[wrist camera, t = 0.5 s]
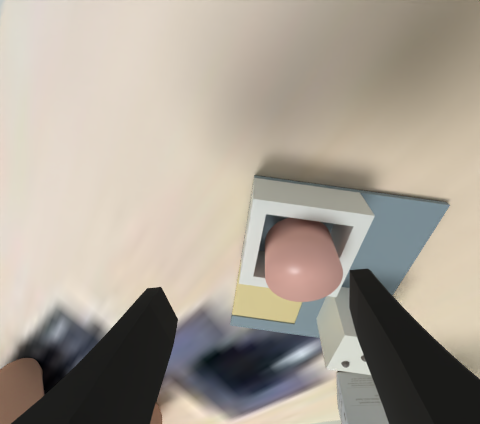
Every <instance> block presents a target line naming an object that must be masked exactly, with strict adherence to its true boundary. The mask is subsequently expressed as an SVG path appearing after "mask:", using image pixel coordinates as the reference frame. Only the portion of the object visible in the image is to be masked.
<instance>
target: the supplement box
mask: <svg viewBox="0 0 480 424" xmlns="http://www.w3.org/2000/svg"><path fill="white" fill-rule="evenodd" d="M337 400H338V410H339V415H340V419H341V424H389V422H388V420H387V417H386V414H385V411H384V408H383V405H382V402H381V400H380V397H379V394H378V392H377V389H376V386H375V384H374V381H373V378H372V376H371V375H366V374H359V373H352V372H337Z"/></svg>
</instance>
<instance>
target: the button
mask: <svg viewBox="0 0 480 424" xmlns="http://www.w3.org/2000/svg"><path fill="white" fill-rule="evenodd" d="M342 278H343V269H342V265H341V262H340V260H339V257H338V254H337V251H336V248H335V245H334V243H333V240H332V237H331V234H330V232H329V230H328V228H327V227H326V226H325V225H324V224H323V223H321V222H319V221H311V220H304V219H297V218H286V219H283V220H281V221H279V222H278V223H276V224H275V225H274V226H273V227H272V228H271V229H270V230H269V231H268V233H267V235H266V238H265V280H266V283H267V285H268V287H269V289H270V290H271V291H272V292H273V293H274V294H276V295H277V296H279V297H281V298H283V299H286V300H289V301H294V302H310V301H315V300H319V299H321V298H324V297H326V296H328V295H329V294H331V293H332V292H333V291H335V290H336V289H337V287H338V286H339V285H340V283H341V281H342Z"/></svg>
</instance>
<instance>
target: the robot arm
mask: <svg viewBox="0 0 480 424" xmlns="http://www.w3.org/2000/svg"><path fill="white" fill-rule="evenodd" d="M349 309H350V312H351V316H352V320H353V324H354V328H355V332H356V335H357V338H358V341H359V344H360V347H361V349H362V352H363V355H364V357H365V360H366V363H367V365H368V368H369V370H370V373H371V376H372V378H373V381H374V384H375V386H376V389H377V392H378V394H379V397H380V400H381V402H382V405H383V408H384V411H385V414H386V417H387V420H388V422H389V424H480V379H479V378H478V377H476V376H475V375H474V374H473V373H472V372H471V371H469V370H468V369H467V368H466V367H465V366H464V365H462V364H461V363H460V362H459V361H458V360H457V359H456V358H455V357H453V356H452V355H451V354H450V353H449V352H448V351H447V350H446V349H445V348H444V347H443V346H442V345H440V344H439V343H438V342H437V341H436V340H435V339H434V338H433V337H432V336H431V335H430V334H429V333H428V332H427V331H426V330H425V329H424V328H423V327H422V326H421V325H420V324H419V323H418V322H417V321H416V320H415V319H414V318H413V317H412V316H411V315H410V314H409V313H408V312H407V311H406V310H405V309H404V308H403V307H402V306H401V305H400V304H399V302H398V301H397V300H396V299H395V298H394V297H393V296H392V295H391V294H390V293H389V291H388V290H387V289H386V288H385V287H384V286H383V285H382V283H381V282H380V281H379V280H378V279H377V277H376V276H375V275H374V274H373V272H372V271H371V270H369V269H357V270H350V289H349ZM177 322H178V319H177V317H176V315H175V313H174V311H173V309H172V307H171V305H170V303H169V301H168V299H167V297H166V295H165V293H164V292H163V290H162V288H161V287H157V288H147V289H146V290H145V291H144V293H143V294H142V295H141V296H140V297H139V298H138V299H137V300H136V301H135V303H134V304H133V305H132V306H131V307H130V308H129V309H128V310H127V312H126V313H125V314H124V315H123V316H122V317H121V318H120V319H119V321H118V322H117V323H116V324H115V325H114V326H113V327H112V328H111V330H110V331H109V332H108V333H107V334H106V335H105V336H104V337H103V338H102V339H101V340H100V341H99V342H98V344H97V345H96V346H95V347H94V348H93V349H92V350H91V351H90V352H89V353H88V354H87V355H86V356H85V357H84V358H83V359H82V360H81V361H80V362H79V363H78V364H77V365H76V366H75V367H74V368H73V369H72V370H71V371H70V372H69V373H68V374H67V375H66V376H65V377H64V378H63V379H62V380H61V381H59V382H58V383H57V384H56V385H55V386H54V387H53V388H52V389H51V390H50V391H49V392H47V393H46V394H45V395H44V396H43V397H42V398H41V399H39V400H38V401H37V402H36V403H35V404H34V405H32V406H31V407H30V408H29V409H28V410H26V411H25V412H24V413H23V414H22V415H20V416H19V417H18V418H17V419H16V420H15V421H13V422H12V423H11V424H150V422H151V418H152V414H153V411H154V407H155V404H156V401H157V397H158V394H159V391H160V388H161V384H162V381H163V378H164V375H165V371H166V368H167V365H168V362H169V358H170V355H171V352H172V348H173V344H174V339H175V334H176V328H177Z"/></svg>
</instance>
